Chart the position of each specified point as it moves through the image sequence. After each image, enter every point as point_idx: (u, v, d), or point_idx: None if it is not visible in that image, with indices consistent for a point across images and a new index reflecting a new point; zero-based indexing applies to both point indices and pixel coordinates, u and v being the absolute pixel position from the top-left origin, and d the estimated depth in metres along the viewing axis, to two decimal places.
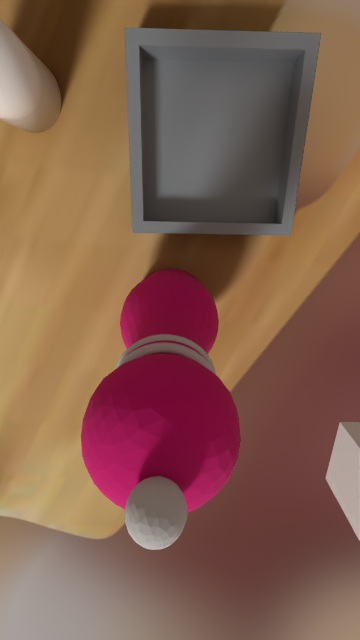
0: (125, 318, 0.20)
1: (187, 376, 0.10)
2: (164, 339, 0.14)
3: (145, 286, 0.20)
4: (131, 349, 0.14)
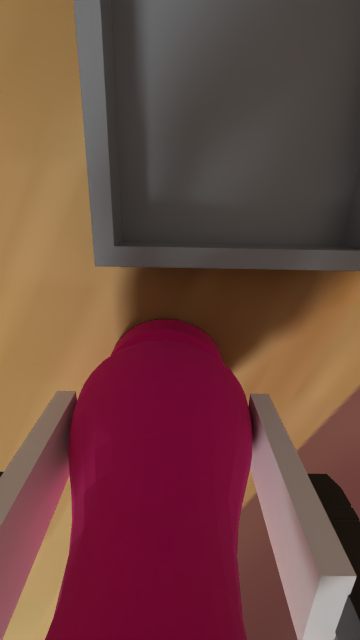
0: (72, 443, 0.10)
1: None
2: None
3: (113, 377, 0.10)
4: None
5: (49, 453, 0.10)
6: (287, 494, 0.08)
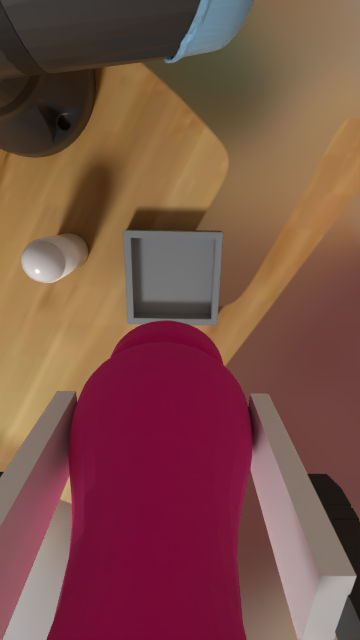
0: (72, 446, 0.10)
1: None
2: None
3: (113, 379, 0.10)
4: None
5: (49, 453, 0.10)
6: (287, 494, 0.08)
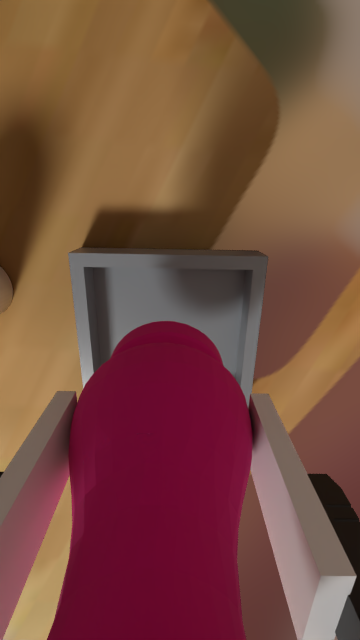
0: (72, 446, 0.10)
1: None
2: None
3: (113, 379, 0.10)
4: None
5: (49, 453, 0.10)
6: (287, 494, 0.08)
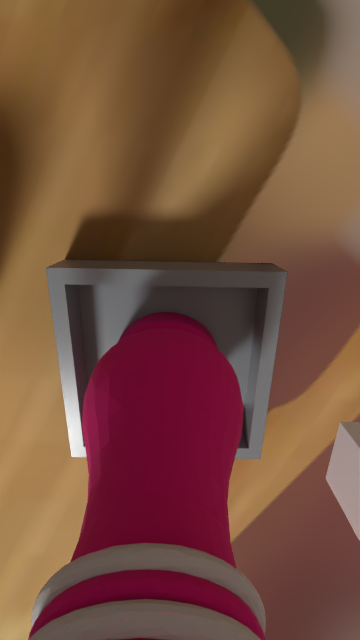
0: (86, 415, 0.11)
1: None
2: (144, 568, 0.05)
3: (122, 358, 0.12)
4: (63, 584, 0.06)
5: None
6: None
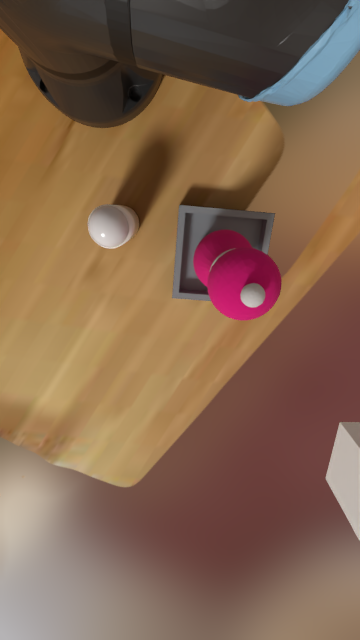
0: (202, 252, 0.33)
1: (261, 252, 0.23)
2: None
3: (214, 235, 0.33)
4: (221, 255, 0.27)
5: None
6: None
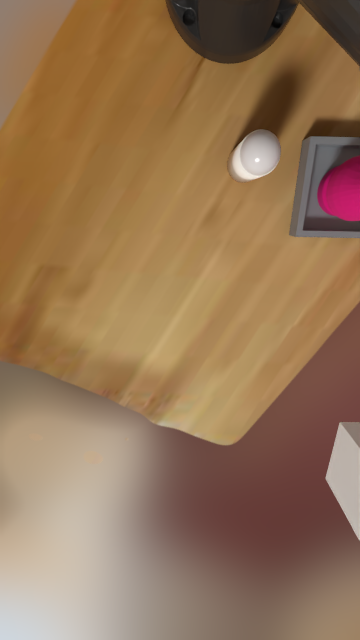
0: (347, 176, 0.33)
1: None
2: None
3: (357, 158, 0.33)
4: None
5: None
6: None
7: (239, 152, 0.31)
